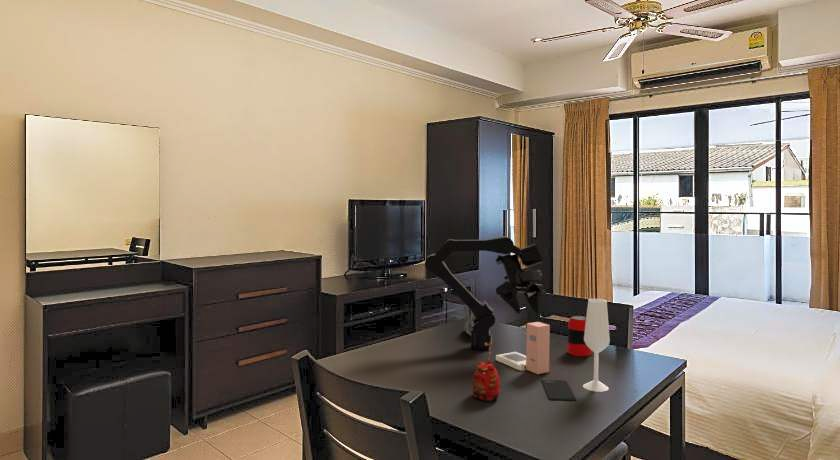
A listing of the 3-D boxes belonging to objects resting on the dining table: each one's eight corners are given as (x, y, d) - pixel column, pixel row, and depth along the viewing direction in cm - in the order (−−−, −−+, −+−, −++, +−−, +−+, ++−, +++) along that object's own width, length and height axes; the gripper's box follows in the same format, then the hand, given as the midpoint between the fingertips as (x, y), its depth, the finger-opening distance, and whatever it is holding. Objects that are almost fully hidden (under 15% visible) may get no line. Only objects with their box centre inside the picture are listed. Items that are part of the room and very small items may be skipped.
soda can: (586, 358, 167) (587, 321, 167) (564, 354, 172) (564, 318, 171) (594, 352, 173) (595, 317, 173) (572, 348, 178) (573, 314, 177)
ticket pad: (495, 360, 165) (495, 354, 165) (515, 356, 169) (515, 351, 169) (520, 370, 154) (520, 365, 154) (541, 366, 158) (541, 361, 158)
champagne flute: (592, 392, 137) (594, 303, 135) (577, 384, 143) (579, 298, 142) (614, 390, 139) (616, 302, 137) (598, 381, 145) (600, 297, 144)
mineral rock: (465, 330, 204) (465, 304, 204) (492, 331, 201) (493, 306, 201) (459, 338, 192) (460, 311, 191) (488, 340, 189) (489, 313, 188)
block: (525, 369, 155) (526, 323, 154) (537, 367, 157) (538, 321, 156) (537, 374, 150) (538, 326, 150) (549, 371, 153) (549, 325, 152)
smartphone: (578, 402, 131) (566, 382, 146) (578, 399, 131) (566, 379, 146) (548, 402, 131) (539, 381, 146) (548, 398, 131) (539, 378, 146)
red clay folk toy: (466, 396, 134) (466, 339, 133) (483, 389, 139) (483, 335, 138) (489, 405, 128) (490, 345, 128) (506, 397, 133) (507, 340, 133)
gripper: (511, 257, 164) (527, 301, 157) (548, 262, 176) (565, 304, 168) (488, 273, 172) (502, 316, 164) (525, 277, 183) (540, 317, 175)
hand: (529, 313), depth 168 cm, fingers open, 9 cm apart
